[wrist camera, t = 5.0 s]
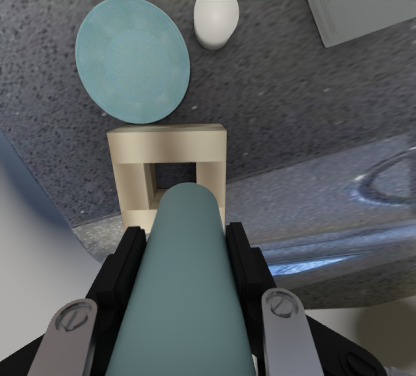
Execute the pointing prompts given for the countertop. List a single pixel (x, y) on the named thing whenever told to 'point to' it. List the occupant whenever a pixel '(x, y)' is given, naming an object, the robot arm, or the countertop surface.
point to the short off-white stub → (215, 22)
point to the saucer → (132, 60)
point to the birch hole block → (164, 153)
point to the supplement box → (357, 17)
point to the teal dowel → (184, 297)
